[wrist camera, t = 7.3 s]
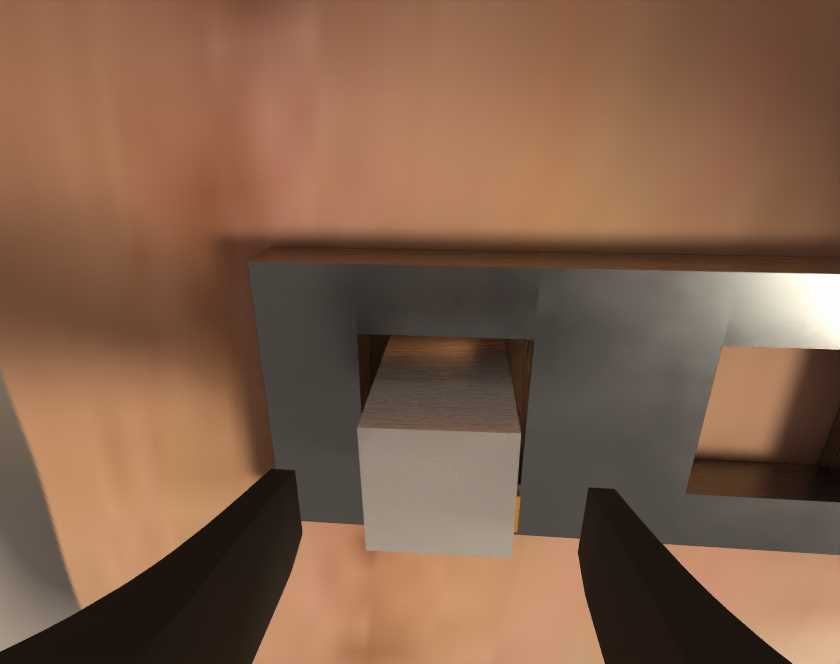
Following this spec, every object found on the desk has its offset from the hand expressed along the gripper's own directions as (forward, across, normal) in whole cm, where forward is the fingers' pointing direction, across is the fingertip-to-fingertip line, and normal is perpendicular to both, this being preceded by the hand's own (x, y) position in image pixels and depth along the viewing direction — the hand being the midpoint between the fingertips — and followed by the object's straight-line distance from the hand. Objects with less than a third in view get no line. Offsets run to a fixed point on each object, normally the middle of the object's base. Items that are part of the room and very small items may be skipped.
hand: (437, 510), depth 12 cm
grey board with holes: (+7, -5, 0) cm, 9 cm away
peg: (+7, 0, 0) cm, 7 cm away
